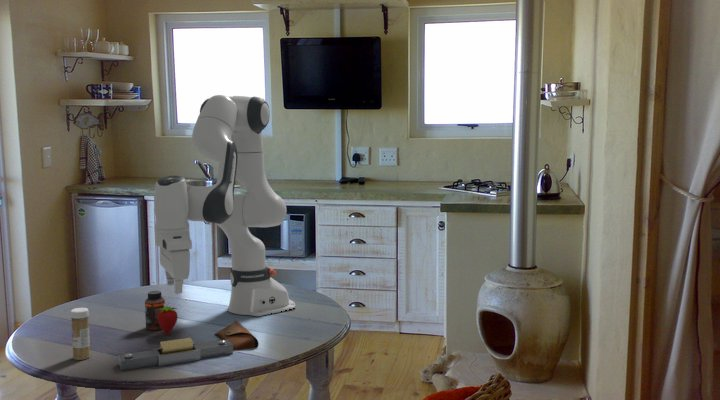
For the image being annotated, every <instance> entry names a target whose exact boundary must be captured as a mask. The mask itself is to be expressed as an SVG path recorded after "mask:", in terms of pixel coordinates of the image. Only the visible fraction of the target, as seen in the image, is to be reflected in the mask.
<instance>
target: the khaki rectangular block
mask: <svg viewBox="0 0 720 400" xmlns="http://www.w3.org/2000/svg"><path fill="white" fill-rule="evenodd" d="M193 343H194V341H193V340H192V338H191V337H186V338H178V339H170V340H164V341H160V345H159V347H161V355H162V354H169V353H176V352H182V351H189V350H193Z"/></svg>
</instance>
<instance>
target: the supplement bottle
mask: <svg viewBox="0 0 720 400" xmlns="http://www.w3.org/2000/svg"><path fill="white" fill-rule="evenodd" d="M164 306H166V299H165V298H164V297H162V291H161V290H150V291H148V292H147V298H146V299H145V301H144V311H145V312H144V314H145V329H146V330H149V331H159V330H162V328H161V327H160V325H159V323H158V320H157V314H158V313H159V311H161V310H159V309H160V308H164Z"/></svg>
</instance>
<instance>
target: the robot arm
mask: <svg viewBox="0 0 720 400" xmlns="http://www.w3.org/2000/svg"><path fill="white" fill-rule="evenodd" d="M270 111H271V110H270V106H269V104H268V103H267V101H266V100H265V98H261V97H258V96H252V97H251V96H245V95H243V96H242V95H233V96H226V95H222V94H217V95H213V96H211V97H209V98H206V99H205V100H204V102H202V104H201V105H200V108H199V115H198V117H197V120H196V121H195V124H194V127H193V130H192V135H191V139H192V143H193V145H194V147H195V148H196V150H197V151H198V152H199V153H200V154H201V155H203V156H205V157H206V158H208V159H210V160H212V161H215V162H218V164H219V165H218V171H217V179H216V183H215V184H213V185H210V186H203V185H201V186H200V185H190V184H188V183H187V181H186V178H185V177H183V176H181V175H169V176H168V175H167V176H162V177H161V178H159V179H158V180H156V182H155V185H154V193H153V195H154V196H153V211H154V215H155V223H154V232H155V233H154V238H155V246H156V247H159V263H160V264H159V265H160V266H161V267H162V268H163V269H164V273H165V278H166V284H167V285H168V286H173V289H174V290H173V293H175V294H182V293H183V284H184V280H187V279H188V278H189V276H190V270H191V264H190V263H191V252H190V251H191V250H192V248H193V242H192V239H191V234H190V233H191V232H190V221H191V222H207V223H211V224H215V225H216V226H218V228H220V229H221V230H222V231H223V232H224V234H225V235H226V238H227V239H228V243H229V246H230V254H231V267H230V277H229V278H230V279H229V280H230V285H231V291H230V292H231V293H230V298H229V299H230V300H229V302H228V303H229V304H228V306H227V307H228V308H227V311H228V312H229V313H232V314H233V315H242V316H244V315H245V316H250V317H251V316H252V317H261V316H265V315H271V313H272V314H276V313H282V312H286V311H285V310H287V311H290V310H289V309H292V310H294V309H293V308H295V306H296V303H295V301H293V300H292V299H290V298H289V293H288V290H287V289H286V287H285V286H284V285H282V284H281V283H280V282H278V281H277V280H275V279H274V278H273V277H274V276H275V275H276V274H277V272H276V270H275V269H273V268H270V267H268V266H266V246H265V244H264V242H263V241H262V240H261V239H259V238H258V237H256V236H255V235H253V234H252V233H251V231H250V230H249V228H271V227H272V228H273V227H277V226H280V225H281V224H282V223H283V222H284V221H285V219H286V215H287V211H288V209H287V205H286V203H285V201H284V199H283V198H282V197H281V196H280V195H279V194H277V193H276V192H275V191H274V190H273V189H272V187H271V185H270V183H269V182H268V179H267V176H266V171H265V170H266V169H265V155H264V139H263V138H264V137H263V132H262V131H263V130H265V129H266V128H267V126H268V124H269V123H270V114H271V112H270ZM236 182H238V183H239V184H241V185H242V186H244V188H245V189H246V191H247V193H239V192H238V193H237V192H236V193H235V184H236ZM295 309H296V308H295ZM281 311H282V312H281Z"/></svg>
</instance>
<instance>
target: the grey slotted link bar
mask: <svg viewBox="0 0 720 400" xmlns="http://www.w3.org/2000/svg"><path fill="white" fill-rule="evenodd" d="M231 354H234V351H233V344H232V343H231V342H230V341H229V340H228V339H227V340H221V339H219V340H213V341H209V342H201V343H195V342H193V350H189V351H182V352H176V353H169V354H162V355H161V346H159V347H155V348H154V347H153V349H151V350H144V351H137V352H129V353H128V352H127V353H123V354H118V355H117V356H118V359H117V360H118V365H119V368H120V371H127V370H133V369H140V368H146V367H147V368H148V367H153V366H158V367H162V366H169V365H176V364H181V363H188V362H194V361H200V360H201V359H207V358H210V357H211V358H213V357H219V356H225V355H231Z"/></svg>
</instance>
